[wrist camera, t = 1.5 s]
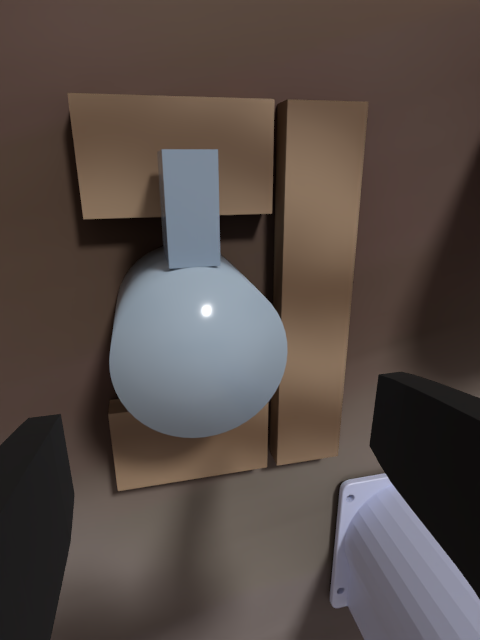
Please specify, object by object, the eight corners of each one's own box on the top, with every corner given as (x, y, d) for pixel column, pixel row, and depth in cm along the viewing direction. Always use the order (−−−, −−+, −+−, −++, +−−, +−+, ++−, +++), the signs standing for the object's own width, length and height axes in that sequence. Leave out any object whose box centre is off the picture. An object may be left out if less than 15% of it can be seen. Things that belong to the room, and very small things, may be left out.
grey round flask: (246, 360, 20) (284, 425, 15) (123, 373, 19) (119, 449, 14) (247, 153, 17) (294, 148, 12) (99, 153, 16) (82, 147, 11)
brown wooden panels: (327, 441, 23) (337, 456, 21) (118, 473, 20) (117, 491, 19) (353, 105, 17) (368, 101, 16) (72, 98, 15) (67, 92, 14)
